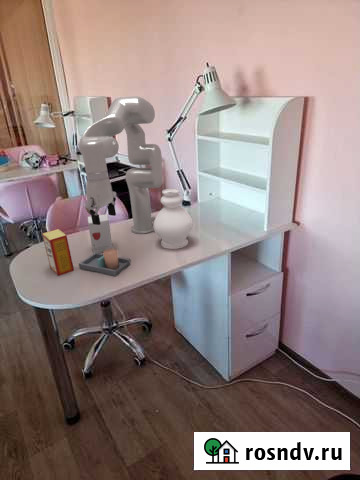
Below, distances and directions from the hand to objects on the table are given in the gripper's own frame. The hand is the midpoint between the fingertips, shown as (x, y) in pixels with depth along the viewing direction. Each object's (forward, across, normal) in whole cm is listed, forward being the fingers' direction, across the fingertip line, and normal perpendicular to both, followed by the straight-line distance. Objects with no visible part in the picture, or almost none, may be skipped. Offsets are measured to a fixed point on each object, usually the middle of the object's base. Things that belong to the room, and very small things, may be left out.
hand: (104, 219), depth 129 cm
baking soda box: (+21, +9, -19) cm, 30 cm away
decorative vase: (+22, -29, +14) cm, 39 cm away
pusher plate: (+21, +1, -3) cm, 21 cm away
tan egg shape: (+20, +1, 0) cm, 20 cm away
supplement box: (+22, -13, -15) cm, 30 cm away
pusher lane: (+21, +1, -3) cm, 21 cm away
